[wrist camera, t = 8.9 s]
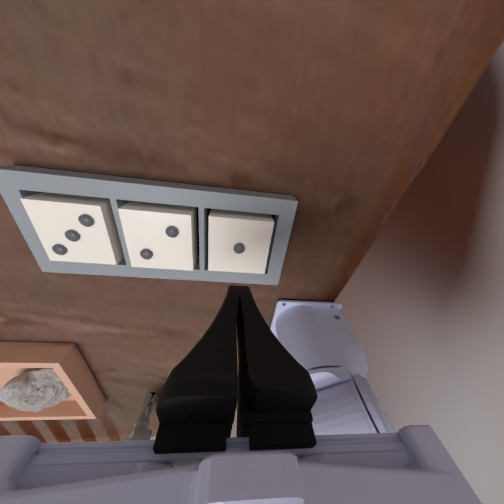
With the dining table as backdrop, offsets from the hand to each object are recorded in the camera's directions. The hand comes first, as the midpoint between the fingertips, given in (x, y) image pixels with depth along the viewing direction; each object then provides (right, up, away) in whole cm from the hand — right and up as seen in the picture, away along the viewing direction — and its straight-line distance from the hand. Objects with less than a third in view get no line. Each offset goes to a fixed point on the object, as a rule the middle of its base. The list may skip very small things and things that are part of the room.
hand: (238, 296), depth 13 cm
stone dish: (-36, -18, +19) cm, 44 cm away
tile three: (-15, +6, +7) cm, 18 cm away
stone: (-33, -19, +19) cm, 43 cm away
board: (-8, +5, +7) cm, 12 cm away
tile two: (-8, +6, +8) cm, 12 cm away
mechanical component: (-19, -25, +25) cm, 40 cm away
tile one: (-1, +5, +9) cm, 10 cm away
